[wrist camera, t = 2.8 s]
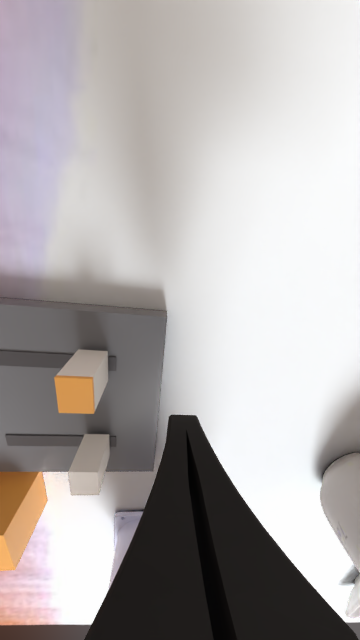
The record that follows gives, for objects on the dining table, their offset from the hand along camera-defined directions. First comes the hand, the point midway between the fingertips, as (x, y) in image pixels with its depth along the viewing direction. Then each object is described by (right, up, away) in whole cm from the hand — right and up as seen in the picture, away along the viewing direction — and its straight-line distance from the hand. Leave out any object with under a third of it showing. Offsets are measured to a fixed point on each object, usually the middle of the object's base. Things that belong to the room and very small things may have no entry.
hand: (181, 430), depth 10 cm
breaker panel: (-12, 0, +7) cm, 14 cm away
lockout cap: (-17, -12, +11) cm, 24 cm away
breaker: (-7, -5, +7) cm, 11 cm away
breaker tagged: (-6, +2, +4) cm, 8 cm away
